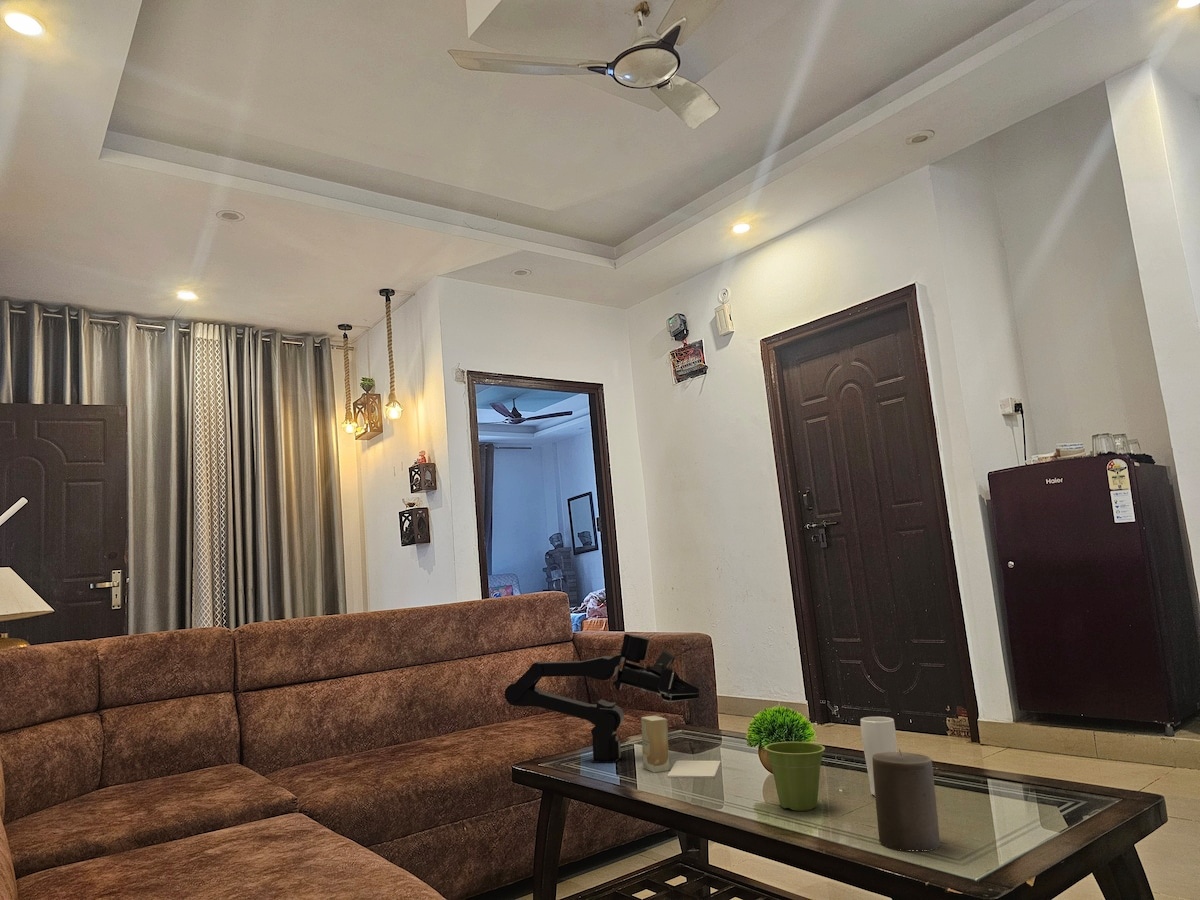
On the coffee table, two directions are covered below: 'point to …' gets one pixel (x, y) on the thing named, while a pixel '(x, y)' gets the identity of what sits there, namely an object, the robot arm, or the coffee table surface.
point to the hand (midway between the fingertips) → (698, 693)
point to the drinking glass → (877, 740)
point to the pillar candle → (905, 801)
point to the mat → (695, 769)
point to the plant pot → (796, 773)
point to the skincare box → (655, 743)
